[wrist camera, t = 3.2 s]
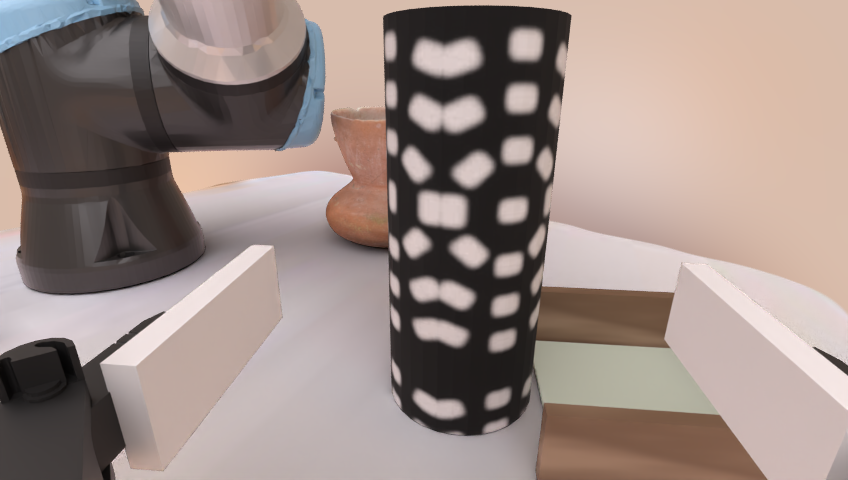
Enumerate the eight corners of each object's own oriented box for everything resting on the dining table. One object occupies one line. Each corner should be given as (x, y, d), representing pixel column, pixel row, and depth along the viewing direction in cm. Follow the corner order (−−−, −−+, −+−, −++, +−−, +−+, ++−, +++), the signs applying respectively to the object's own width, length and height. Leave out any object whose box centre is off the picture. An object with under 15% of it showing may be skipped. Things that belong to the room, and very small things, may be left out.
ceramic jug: (296, 234, 52) (283, 108, 47) (385, 207, 62) (383, 101, 57) (406, 282, 41) (406, 124, 36) (493, 240, 51) (503, 112, 46)
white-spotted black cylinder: (484, 334, 32) (503, 30, 25) (559, 409, 25) (615, 13, 18) (374, 361, 29) (361, 23, 22) (424, 455, 22) (427, -1, 15)
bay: (512, 335, 32) (517, 285, 31) (695, 345, 31) (708, 294, 30) (537, 485, 20) (547, 415, 19) (833, 510, 19) (866, 438, 18)
